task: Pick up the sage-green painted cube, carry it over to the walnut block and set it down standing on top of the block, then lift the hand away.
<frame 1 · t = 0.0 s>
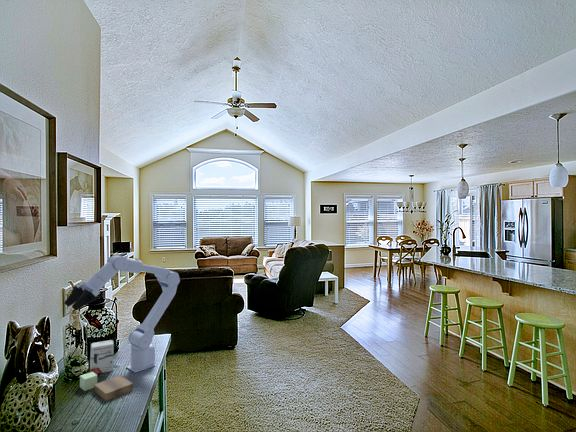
hand: (69, 306, 126), 32 cm above the table, tool tilted 50°, fingers open, 7 cm apart
ink box: (101, 371, 144), on the table
sage cube: (88, 386, 130), on the table
walnut block: (113, 391, 128), on the table
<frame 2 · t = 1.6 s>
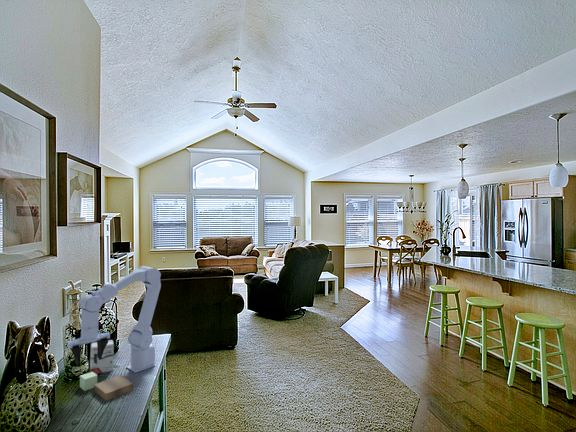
hand: (89, 361, 130), 10 cm above the table, tool pointing down, fingers open, 7 cm apart
nothing on the table moved.
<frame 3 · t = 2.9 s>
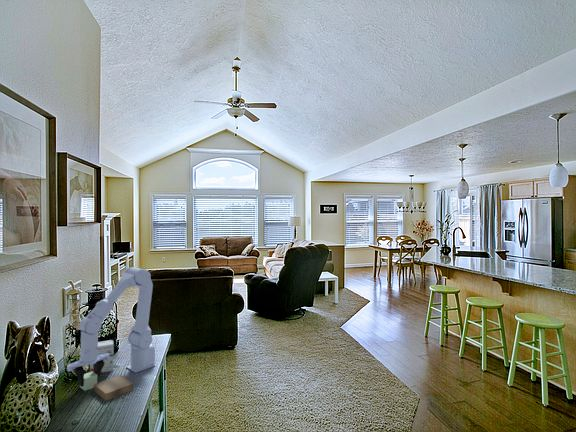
hand: (88, 383, 130), 1 cm above the table, tool pointing down, fingers closed on sage cube, 4 cm apart
sage cube: (88, 386, 130), on the table, touching gripper
everything else where it was.
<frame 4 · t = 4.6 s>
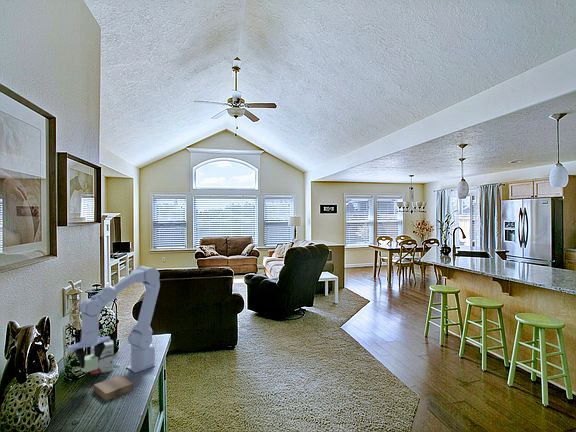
hand: (89, 365, 130), 8 cm above the table, tool pointing down, fingers closed on sage cube, 4 cm apart
sage cube: (89, 368, 130), point 7 cm above the table, touching gripper
everything else where it was.
when the fingers open (6 cm above the table, at t = 6.5 s): sage cube drops 2 cm, point 2 cm above the table.
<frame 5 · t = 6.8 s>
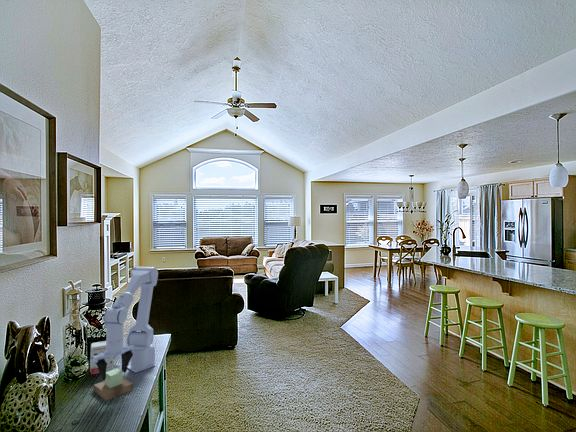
hand: (113, 375, 128), 6 cm above the table, tool pointing down, fingers open, 7 cm apart
sage cube: (113, 383, 128), point 2 cm above the table
everything else where it was.
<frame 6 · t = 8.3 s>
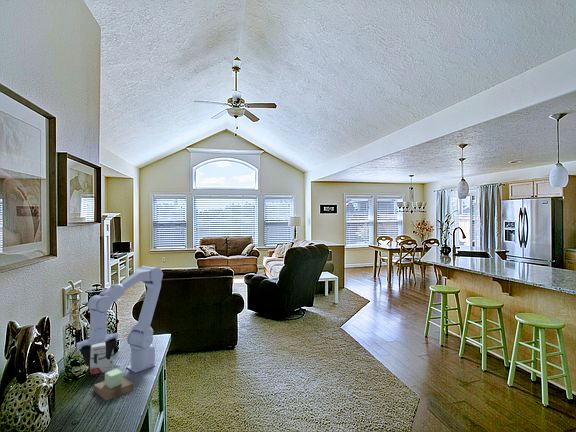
hand: (97, 361, 130), 10 cm above the table, tool pointing down, fingers open, 7 cm apart
sage cube: (113, 384, 128), point 3 cm above the table, touching walnut block
walnut block: (113, 391, 128), on the table, touching sage cube
everything else where it was.
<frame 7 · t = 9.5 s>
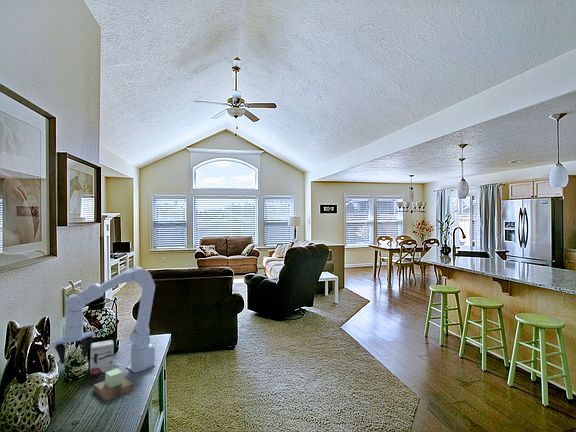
hand: (73, 359, 132), 9 cm above the table, tool pointing down, fingers open, 7 cm apart
nothing on the table moved.
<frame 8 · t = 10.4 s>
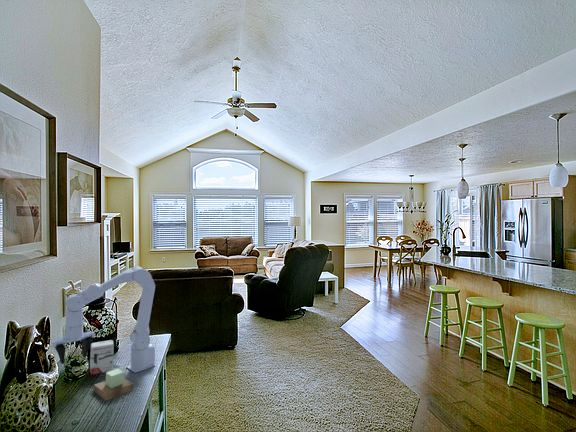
hand: (73, 359, 132), 9 cm above the table, tool pointing down, fingers open, 7 cm apart
nothing on the table moved.
at the end: sage cube 0.3 cm off-centre on the walnut block, point 3.0 cm above the walnut block's base; sage cube tilted 0°; sage cube touching nothing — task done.
